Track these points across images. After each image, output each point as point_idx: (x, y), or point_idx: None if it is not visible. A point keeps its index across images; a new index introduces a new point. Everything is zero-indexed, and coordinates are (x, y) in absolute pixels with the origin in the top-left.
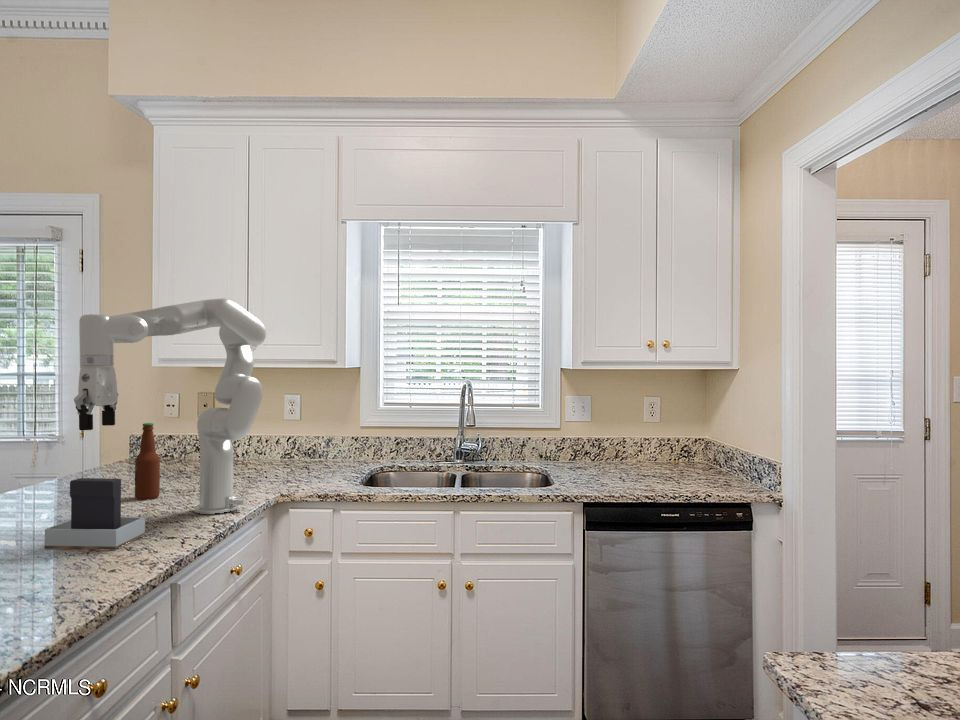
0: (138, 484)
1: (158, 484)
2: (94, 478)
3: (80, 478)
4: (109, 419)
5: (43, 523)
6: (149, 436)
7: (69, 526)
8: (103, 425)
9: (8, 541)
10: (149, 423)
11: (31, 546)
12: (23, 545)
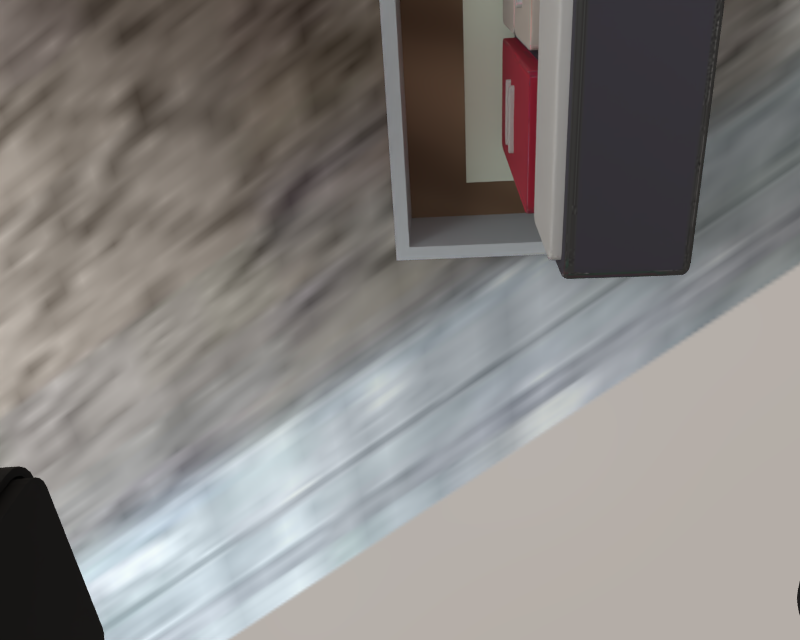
0: None
1: None
2: (585, 133)
3: (588, 257)
4: (2, 633)
5: (247, 495)
6: None
7: (496, 232)
8: (92, 622)
9: (532, 439)
10: None
11: (609, 300)
12: (593, 343)
